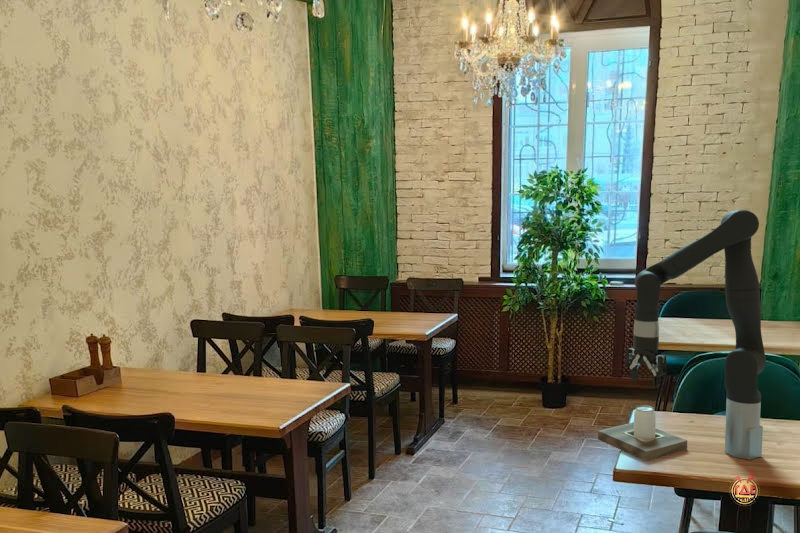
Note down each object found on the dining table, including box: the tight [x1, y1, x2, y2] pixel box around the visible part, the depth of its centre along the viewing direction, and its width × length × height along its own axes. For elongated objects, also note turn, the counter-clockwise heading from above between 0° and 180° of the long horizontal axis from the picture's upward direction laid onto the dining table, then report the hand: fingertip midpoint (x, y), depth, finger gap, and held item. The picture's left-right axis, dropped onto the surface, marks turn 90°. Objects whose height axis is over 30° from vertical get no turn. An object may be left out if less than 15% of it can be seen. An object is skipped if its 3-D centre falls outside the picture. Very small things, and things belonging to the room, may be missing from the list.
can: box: [633, 404, 657, 440], centre depth 201 cm, size 6×6×12 cm
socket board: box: [597, 421, 688, 462], centre depth 201 cm, size 20×18×3 cm
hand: (645, 383), depth 200 cm, fingers open, 8 cm apart
